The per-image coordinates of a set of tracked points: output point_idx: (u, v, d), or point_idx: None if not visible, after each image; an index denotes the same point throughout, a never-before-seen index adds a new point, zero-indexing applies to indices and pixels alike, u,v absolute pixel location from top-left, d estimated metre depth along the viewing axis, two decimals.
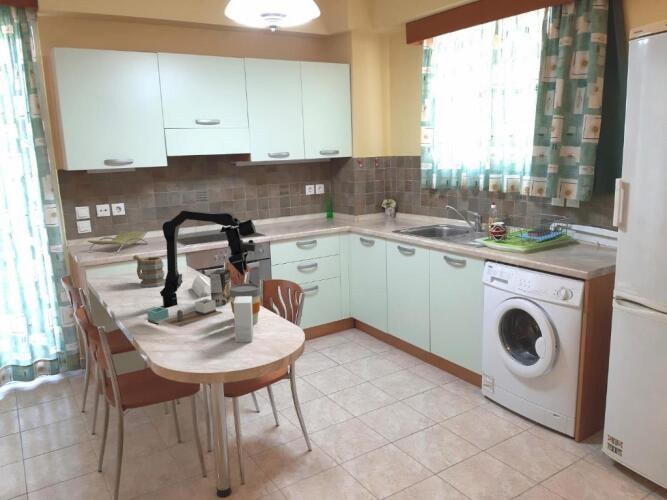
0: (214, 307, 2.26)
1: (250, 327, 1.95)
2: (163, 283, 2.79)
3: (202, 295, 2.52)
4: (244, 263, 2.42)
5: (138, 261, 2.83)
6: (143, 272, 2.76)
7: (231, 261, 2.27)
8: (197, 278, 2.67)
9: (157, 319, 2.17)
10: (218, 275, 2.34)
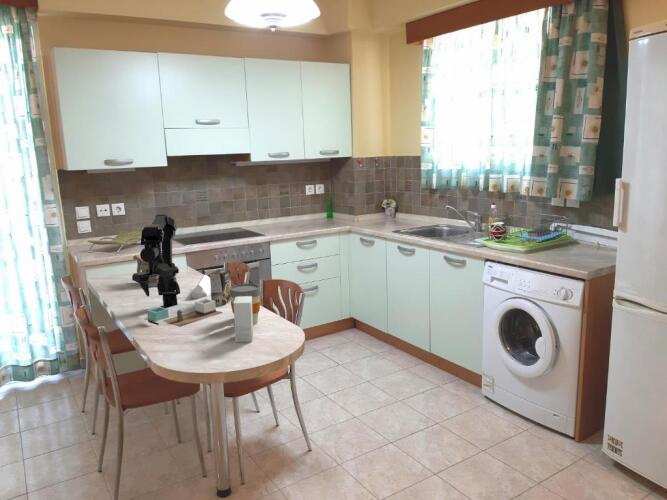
0: (214, 307, 2.26)
1: (250, 327, 1.95)
2: None
3: (193, 295, 2.52)
4: (167, 284, 2.21)
5: (138, 261, 2.83)
6: (143, 272, 2.76)
7: (132, 279, 2.11)
8: None
9: (157, 319, 2.17)
10: (218, 275, 2.34)
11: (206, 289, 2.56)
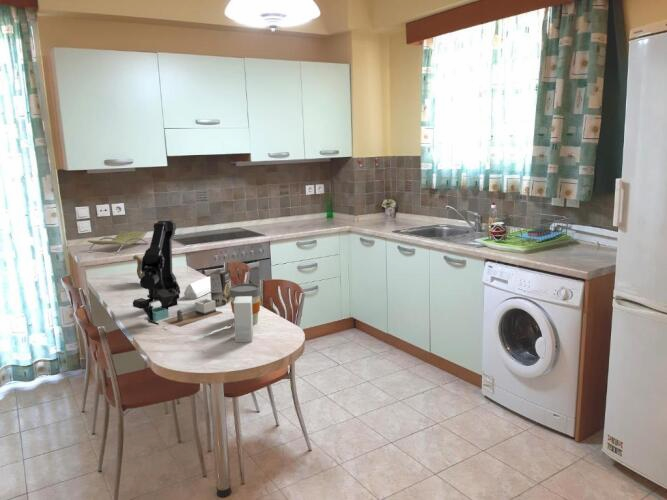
0: (214, 307, 2.26)
1: (250, 327, 1.95)
2: None
3: (185, 294, 2.54)
4: None
5: (138, 261, 2.83)
6: (143, 272, 2.76)
7: (133, 305, 2.13)
8: None
9: (157, 319, 2.17)
10: (218, 275, 2.34)
11: (199, 290, 2.55)
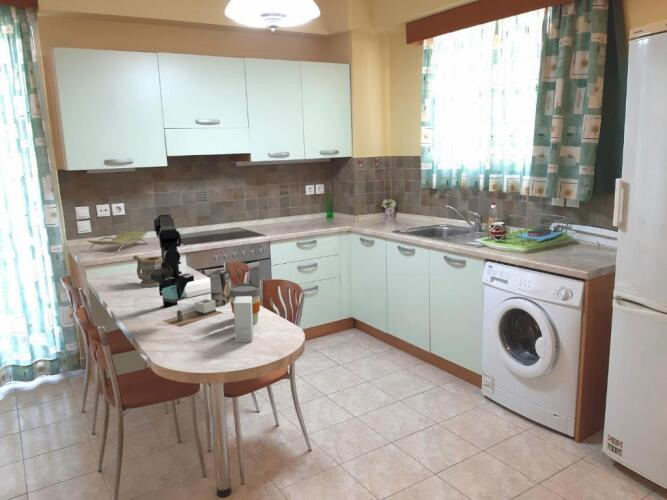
0: (214, 307, 2.26)
1: (250, 327, 1.95)
2: None
3: None
4: None
5: (138, 261, 2.83)
6: (143, 272, 2.76)
7: None
8: None
9: (163, 296, 2.13)
10: (218, 275, 2.34)
11: (192, 289, 2.56)
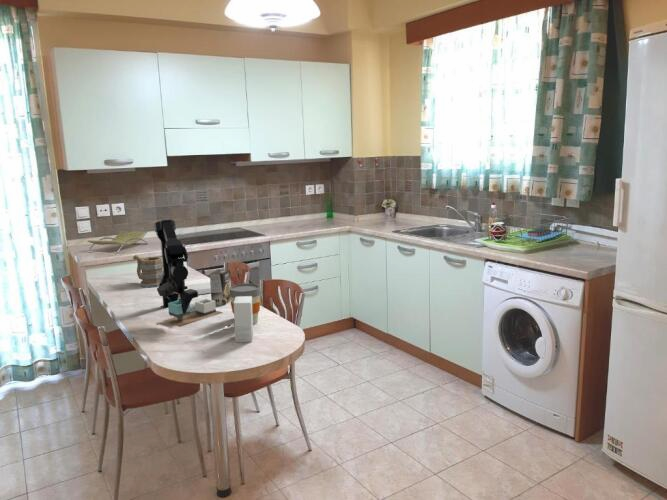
0: (214, 307, 2.26)
1: (250, 327, 1.95)
2: None
3: None
4: None
5: (138, 261, 2.83)
6: (143, 272, 2.76)
7: None
8: None
9: (169, 310, 2.15)
10: (218, 275, 2.34)
11: None
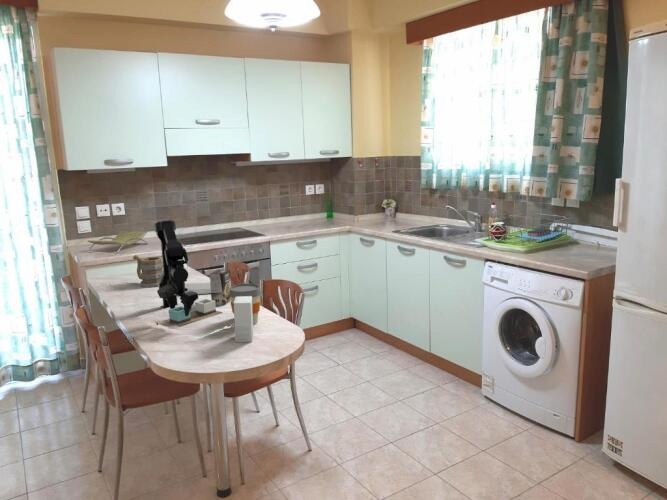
0: (214, 307, 2.26)
1: (250, 327, 1.95)
2: None
3: None
4: None
5: (138, 261, 2.83)
6: (143, 272, 2.76)
7: None
8: None
9: (170, 316, 2.15)
10: (218, 275, 2.34)
11: (187, 288, 2.59)
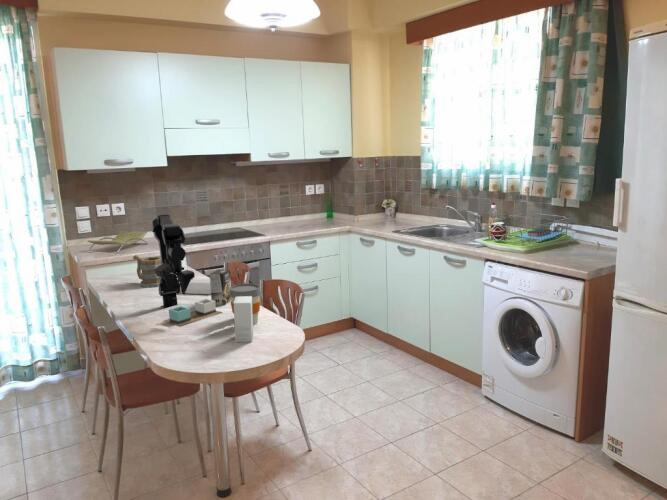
0: (214, 307, 2.26)
1: (250, 327, 1.95)
2: None
3: None
4: None
5: (138, 261, 2.83)
6: (143, 272, 2.76)
7: None
8: None
9: (170, 316, 2.15)
10: (218, 275, 2.34)
11: (187, 287, 2.61)
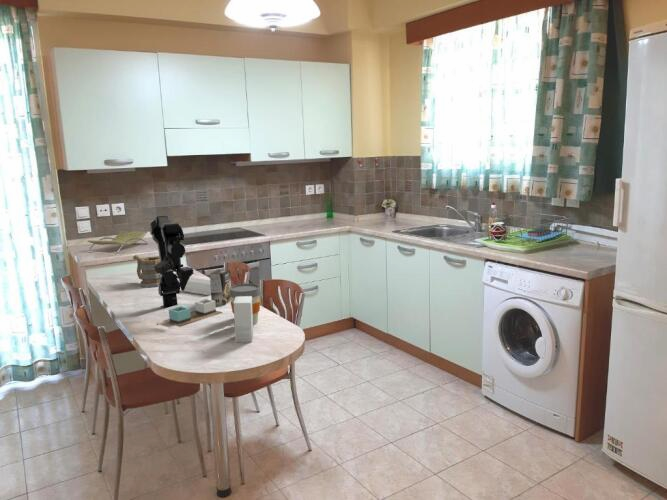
0: (214, 307, 2.26)
1: (250, 327, 1.95)
2: None
3: None
4: None
5: (138, 261, 2.83)
6: (143, 272, 2.76)
7: None
8: None
9: (170, 316, 2.15)
10: (218, 275, 2.34)
11: (188, 285, 2.64)
